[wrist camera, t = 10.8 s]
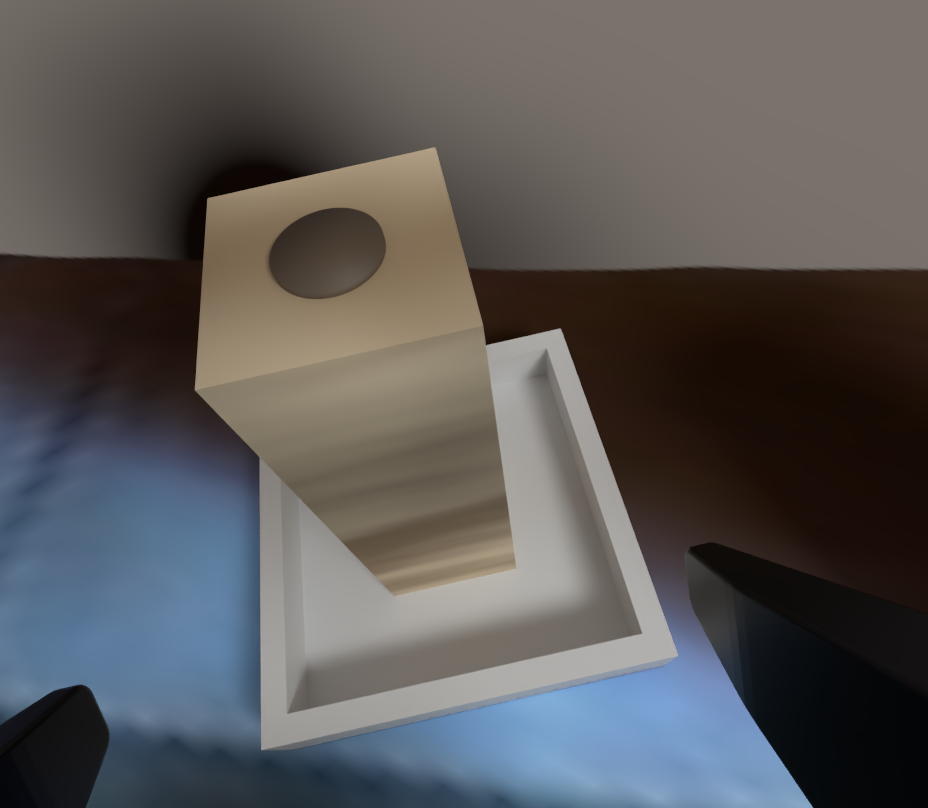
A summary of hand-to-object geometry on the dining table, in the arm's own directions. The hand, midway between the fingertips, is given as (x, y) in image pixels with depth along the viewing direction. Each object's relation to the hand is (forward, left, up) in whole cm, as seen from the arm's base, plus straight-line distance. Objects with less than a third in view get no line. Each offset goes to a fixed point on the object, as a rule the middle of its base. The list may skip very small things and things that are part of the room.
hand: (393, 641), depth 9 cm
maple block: (+5, +4, -12) cm, 13 cm away
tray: (+5, +4, -13) cm, 14 cm away
